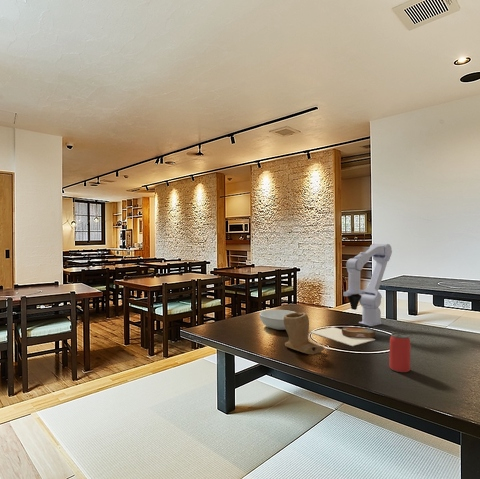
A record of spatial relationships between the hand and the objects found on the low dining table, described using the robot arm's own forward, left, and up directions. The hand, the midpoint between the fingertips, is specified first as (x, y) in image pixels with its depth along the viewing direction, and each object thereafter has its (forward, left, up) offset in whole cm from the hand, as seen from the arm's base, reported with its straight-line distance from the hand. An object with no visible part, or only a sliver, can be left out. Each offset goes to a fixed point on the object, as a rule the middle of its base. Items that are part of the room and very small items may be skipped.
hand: (354, 309), depth 171 cm
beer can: (+32, +43, -10) cm, 55 cm away
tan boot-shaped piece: (+47, +10, -10) cm, 49 cm away
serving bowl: (+31, -21, -10) cm, 38 cm away
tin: (+7, +7, -8) cm, 13 cm away
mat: (+17, +6, -9) cm, 20 cm away
